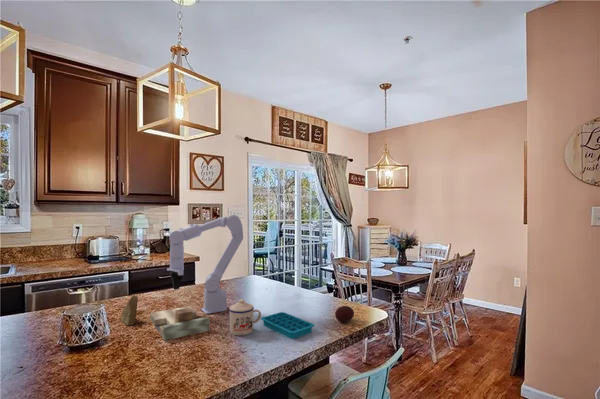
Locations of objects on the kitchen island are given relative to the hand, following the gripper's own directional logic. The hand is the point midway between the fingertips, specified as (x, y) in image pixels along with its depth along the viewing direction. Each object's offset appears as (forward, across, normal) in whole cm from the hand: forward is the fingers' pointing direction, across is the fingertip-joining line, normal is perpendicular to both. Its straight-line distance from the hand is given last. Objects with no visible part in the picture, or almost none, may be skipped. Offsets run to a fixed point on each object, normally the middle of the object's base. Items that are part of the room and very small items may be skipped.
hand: (176, 288), depth 141 cm
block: (+8, +23, -3) cm, 25 cm away
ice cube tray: (+11, +43, +30) cm, 54 cm away
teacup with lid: (+10, +36, +16) cm, 41 cm away
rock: (+11, 0, -19) cm, 22 cm away
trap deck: (+10, +15, -3) cm, 19 cm away
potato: (+10, +50, +53) cm, 74 cm away
